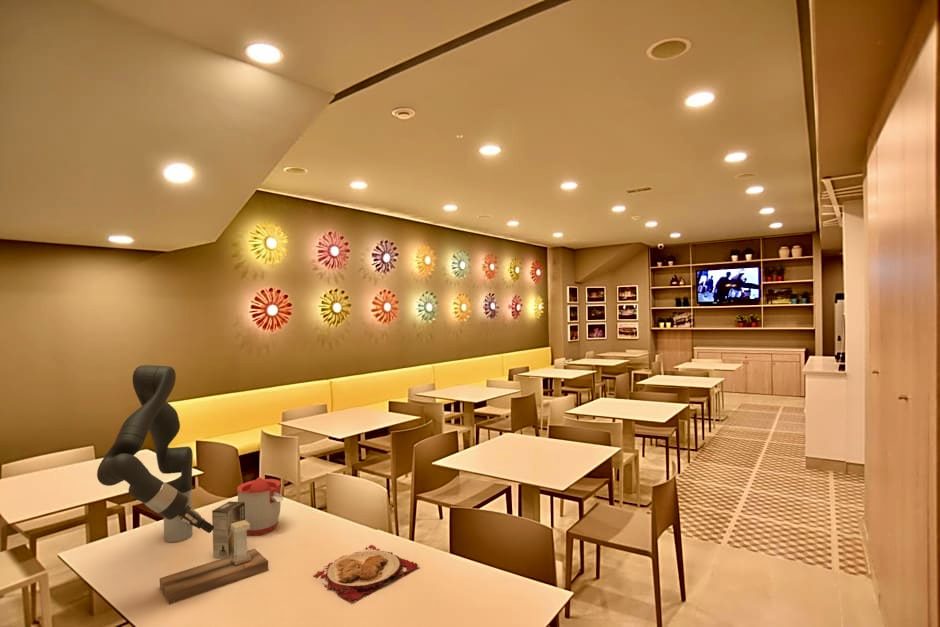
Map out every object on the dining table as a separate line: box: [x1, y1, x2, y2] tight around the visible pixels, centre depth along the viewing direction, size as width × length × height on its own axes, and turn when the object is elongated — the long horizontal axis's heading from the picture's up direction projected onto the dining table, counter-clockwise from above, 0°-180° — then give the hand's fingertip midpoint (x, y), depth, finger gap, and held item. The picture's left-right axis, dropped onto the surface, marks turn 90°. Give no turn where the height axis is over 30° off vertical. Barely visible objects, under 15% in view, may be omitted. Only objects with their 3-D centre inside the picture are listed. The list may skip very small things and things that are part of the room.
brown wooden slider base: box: [159, 548, 269, 605], centre depth 158 cm, size 12×28×3 cm, turn 132°
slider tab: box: [230, 520, 251, 565], centre depth 163 cm, size 5×5×12 cm
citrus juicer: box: [236, 477, 284, 536], centre depth 194 cm, size 16×17×20 cm
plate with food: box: [312, 544, 419, 601], centre depth 161 cm, size 25×26×4 cm
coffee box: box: [211, 500, 245, 559], centre depth 176 cm, size 9×6×16 cm
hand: (211, 529), depth 157 cm, fingers closed
